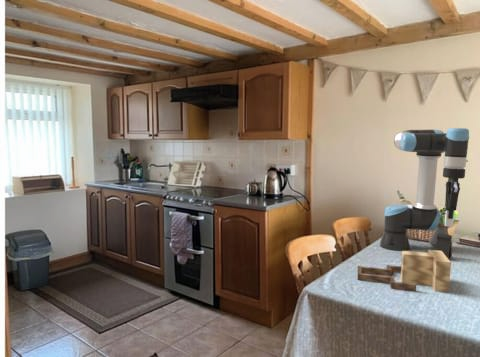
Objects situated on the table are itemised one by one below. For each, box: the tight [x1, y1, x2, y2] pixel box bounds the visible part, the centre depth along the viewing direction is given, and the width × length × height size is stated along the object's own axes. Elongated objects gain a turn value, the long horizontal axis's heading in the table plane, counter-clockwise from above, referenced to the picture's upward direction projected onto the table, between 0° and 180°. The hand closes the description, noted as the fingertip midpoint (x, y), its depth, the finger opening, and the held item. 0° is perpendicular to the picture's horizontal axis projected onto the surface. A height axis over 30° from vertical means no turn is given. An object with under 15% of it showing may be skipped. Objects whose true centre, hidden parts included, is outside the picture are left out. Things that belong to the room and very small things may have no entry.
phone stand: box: [434, 233, 453, 260], centre depth 183 cm, size 9×6×12 cm, turn 138°
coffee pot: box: [428, 217, 453, 249], centre depth 206 cm, size 21×12×15 cm, turn 151°
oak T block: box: [400, 249, 452, 294], centre depth 149 cm, size 16×16×12 cm
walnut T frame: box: [357, 264, 417, 293], centre depth 154 cm, size 22×22×2 cm
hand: (448, 226), depth 146 cm, fingers closed
